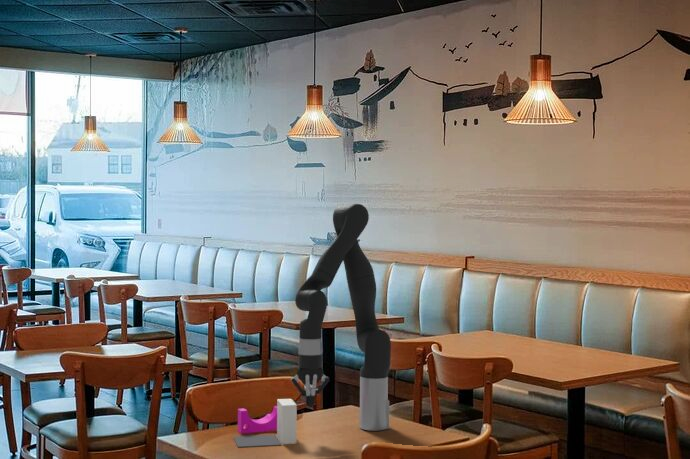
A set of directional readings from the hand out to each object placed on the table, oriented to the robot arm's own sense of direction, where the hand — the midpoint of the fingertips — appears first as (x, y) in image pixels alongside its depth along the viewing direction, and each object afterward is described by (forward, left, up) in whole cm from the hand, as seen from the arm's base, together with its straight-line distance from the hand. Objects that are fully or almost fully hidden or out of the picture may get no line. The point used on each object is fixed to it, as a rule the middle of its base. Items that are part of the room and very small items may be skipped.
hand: (309, 407), depth 286 cm
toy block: (+13, -16, -11) cm, 23 cm away
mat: (+17, 0, -10) cm, 19 cm away
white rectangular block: (+7, 0, -10) cm, 13 cm away
